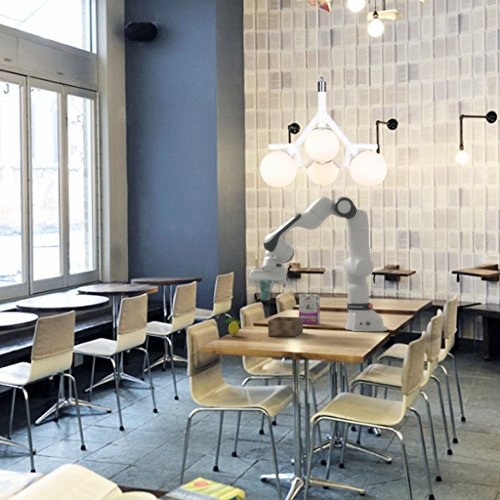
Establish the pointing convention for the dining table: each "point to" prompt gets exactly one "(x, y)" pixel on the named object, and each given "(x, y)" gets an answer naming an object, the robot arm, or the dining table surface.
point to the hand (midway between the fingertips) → (264, 288)
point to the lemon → (233, 326)
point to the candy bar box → (309, 308)
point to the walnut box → (285, 326)
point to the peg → (265, 290)
